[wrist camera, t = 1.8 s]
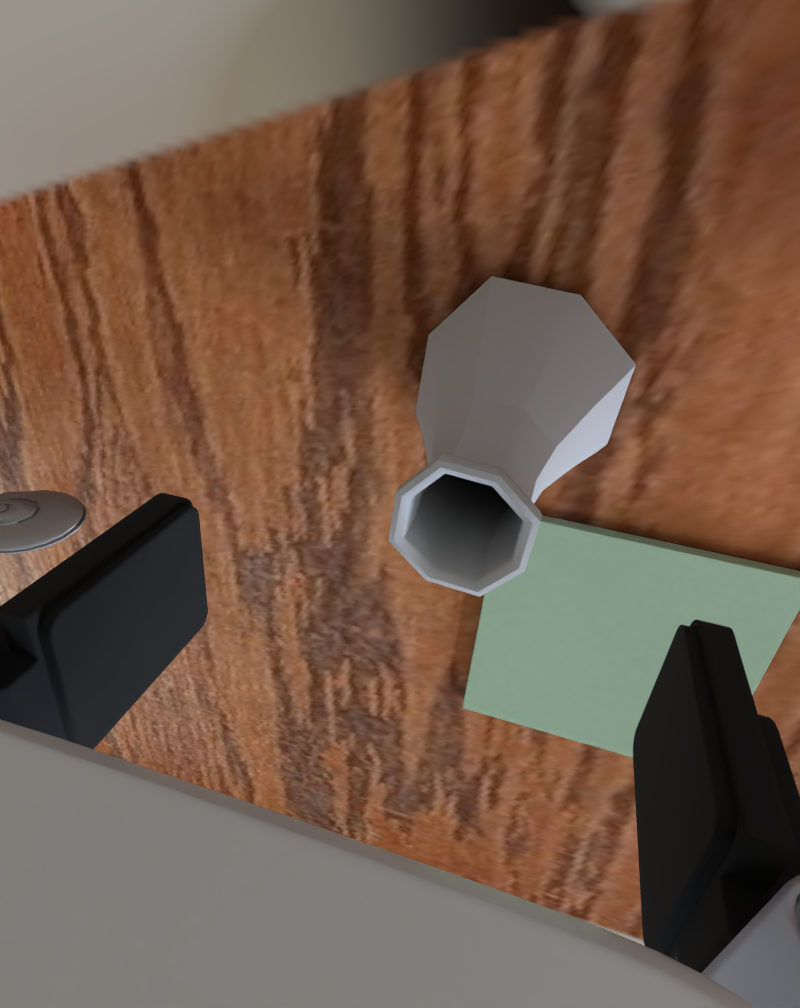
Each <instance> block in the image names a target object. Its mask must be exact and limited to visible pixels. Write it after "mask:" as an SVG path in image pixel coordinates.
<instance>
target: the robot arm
mask: <svg viewBox="0 0 800 1008" xmlns="http://www.w3.org/2000/svg"><path fill="white" fill-rule="evenodd" d="M207 613H208V607H207V597H206V586H205V575H204V565H203V554H202V543H201V533H200V522H199V514H198V511H197V509H196V508H194V507H193V505H192V503H191V501H190V500H188V499H186V498H182V497H178V496H174V495H169V494H165V493H160V494H158V495H156V496H155V497H153V498H152V499H150V500H149V501H148V502H146V503H145V504H143V505H142V506H141V507H139V508H138V509H136V510H135V511H134V512H132V513H131V514H129V515H128V516H126V517H125V518H124V519H122V520H121V521H119V522H118V523H117V524H115V525H114V526H112V527H111V528H110V529H108V530H107V531H105V532H104V533H103V534H101V535H100V536H98V537H97V538H96V539H94V540H93V541H91V542H90V543H89V544H87V545H86V546H84V547H83V548H82V549H80V550H79V551H77V552H76V553H75V554H73V555H72V556H70V557H69V558H68V559H66V560H65V561H63V562H62V563H61V564H59V565H58V566H56V567H55V568H53V569H52V570H51V571H49V572H48V573H46V574H45V575H44V576H42V577H41V578H39V579H38V580H37V581H35V582H34V583H32V584H31V585H30V586H28V587H27V588H25V589H24V590H23V591H21V592H20V593H18V594H17V595H16V596H14V597H13V598H11V599H10V600H9V601H7V602H6V603H4V604H3V605H2V606H0V1008H800V797H799V793H798V790H797V787H796V784H795V781H794V778H793V775H792V772H791V768H790V765H789V762H788V759H787V756H786V753H785V750H784V747H783V744H782V740H781V737H780V734H779V731H778V729H777V727H776V724H775V722H774V721H773V720H772V719H770V718H769V717H765V716H761V715H758V714H757V710H756V707H755V703H754V700H753V697H752V693H751V690H750V686H749V683H748V679H747V676H746V673H745V669H744V666H743V662H742V659H741V655H740V652H739V649H738V645H737V642H736V638H735V635H734V632H733V630H732V629H731V628H730V627H726V626H722V625H718V624H714V623H710V622H705V621H701V620H697V619H696V620H694V621H693V622H692V623H691V625H690V626H686V625H680V626H679V627H678V629H677V631H676V633H675V636H674V638H673V640H672V643H671V645H670V648H669V650H668V653H667V655H666V658H665V660H664V662H663V665H662V667H661V670H660V672H659V675H658V677H657V679H656V682H655V684H654V687H653V689H652V692H651V694H650V697H649V699H648V701H647V704H646V706H645V709H644V711H643V714H642V716H641V719H640V721H639V723H638V726H637V728H636V731H635V735H634V741H633V763H634V781H635V799H636V817H637V835H638V853H639V872H640V890H641V908H642V926H643V939H644V944H645V946H643V945H641V944H638V943H636V942H634V941H631V940H629V939H627V938H624V937H622V936H619V935H617V934H615V933H612V932H610V931H608V930H605V929H603V928H600V927H597V926H595V925H592V924H589V923H587V922H584V921H581V920H578V919H576V918H573V917H570V916H568V915H565V914H562V913H560V912H557V911H554V910H551V909H549V908H546V907H543V906H541V905H538V904H535V903H533V902H530V901H527V900H524V899H522V898H519V897H516V896H514V895H511V894H508V893H506V892H503V891H500V890H497V889H495V888H492V887H489V886H486V885H483V884H480V883H477V882H475V881H472V880H469V879H466V878H463V877H460V876H458V875H455V874H452V873H449V872H446V871H443V870H441V869H438V868H435V867H432V866H429V865H426V864H423V863H421V862H418V861H415V860H412V859H409V858H406V857H404V856H401V855H398V854H395V853H392V852H389V851H387V850H384V849H381V848H378V847H375V846H372V845H369V844H367V843H364V842H361V841H358V840H355V839H352V838H350V837H347V836H344V835H341V834H338V833H335V832H332V831H329V830H326V829H324V828H321V827H318V826H315V825H312V824H309V823H306V822H303V821H301V820H298V819H295V818H292V817H289V816H286V815H283V814H280V813H277V812H275V811H272V810H269V809H266V808H263V807H260V806H257V805H254V804H251V803H249V802H246V801H243V800H240V799H237V798H234V797H231V796H228V795H225V794H222V793H219V792H217V791H214V790H211V789H208V788H205V787H202V786H199V785H196V784H193V783H190V782H188V781H185V780H182V779H179V778H176V777H173V776H170V775H167V774H164V773H161V772H158V771H155V770H152V769H149V768H146V767H143V766H140V765H137V764H134V763H132V762H129V761H126V760H123V759H120V758H117V757H114V756H111V755H108V754H105V753H102V752H99V751H96V750H93V749H94V748H95V747H96V746H97V745H98V744H99V742H100V741H101V740H102V739H103V738H104V737H105V736H106V735H107V733H108V732H109V731H110V730H111V729H112V728H113V727H114V726H115V724H116V723H117V722H118V721H119V720H120V719H121V718H122V717H123V715H124V714H125V713H126V712H127V711H128V710H129V709H130V708H131V706H132V705H133V704H134V703H135V702H136V701H137V700H138V699H139V697H140V696H141V695H142V694H143V693H144V692H145V691H146V690H147V689H148V687H149V686H150V685H151V684H152V683H153V682H154V681H155V680H156V678H157V677H158V676H159V675H160V674H161V673H162V672H163V671H164V669H165V668H166V667H167V666H168V665H169V664H170V663H171V662H172V660H173V659H174V658H175V657H176V656H177V655H178V654H179V653H180V651H181V650H182V649H183V648H184V647H185V646H186V645H187V644H188V642H189V641H190V640H191V639H192V638H193V637H194V636H195V635H196V633H197V632H198V631H199V630H200V629H201V628H202V626H203V625H204V623H205V621H206V618H207Z"/></svg>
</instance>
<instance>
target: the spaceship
mask: <svg viewBox="0 0 800 1008" xmlns="http://www.w3.org/2000/svg"><path fill="white" fill-rule="evenodd" d="M85 519H86V508H85V507H84V505H83V504H82V503H81V502H80V501H79V500H78V499H77V498H75V497H73V496H71V495H69V494H66V493H61V492H56V491H48V490H40V491H30V492H6V493H2V494H0V553H2V554H14V553H23V552H30V551H34V550H38V549H42V548H46V547H49V546H51V545H54V544H56V543H58V542H60V541H63V540H65V539H66V538H68V537H69V536H71V535H72V534H73V533H75V532H76V531H78V529H79V528H80V527H81V526H82V524H83V523H84V521H85Z"/></svg>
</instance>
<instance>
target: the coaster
mask: <svg viewBox="0 0 800 1008" xmlns="http://www.w3.org/2000/svg"><path fill="white" fill-rule="evenodd" d="M799 609H800V571H798V570H793V569H789V568H784V567H779V566H775V565H770V564H766V563H761V562H756V561H752V560H747V559H743V558H738V557H733V556H729V555H724V554H719V553H715V552H710V551H706V550H701V549H696V548H692V547H687V546H682V545H678V544H673V543H669V542H664V541H659V540H655V539H650V538H646V537H641V536H636V535H632V534H627V533H622V532H618V531H613V530H609V529H604V528H599V527H595V526H590V525H585V524H581V523H576V522H572V521H567V520H562V519H558V518H553V517H549V516H544V515H542V519H541V522H540V525H539V528H538V532H537V535H536V538H535V541H534V544H533V547H532V550H531V553H530V556H529V559H528V563H527V566H526V569H525V571H524V572H522V573H521V574H519V575H517V576H515V577H514V578H512V579H510V580H508V581H507V582H505V583H503V584H501V585H500V586H498V587H496V588H494V589H493V590H491V591H489V592H487V593H486V594H484V598H483V603H482V608H481V613H480V618H479V623H478V629H477V634H476V639H475V644H474V649H473V654H472V660H471V665H470V670H469V675H468V680H467V685H466V691H465V696H464V701H463V706H462V707H463V708H465V709H468V710H472V711H475V712H478V713H482V714H485V715H489V716H492V717H496V718H499V719H503V720H506V721H509V722H513V723H516V724H520V725H523V726H527V727H530V728H533V729H537V730H540V731H544V732H547V733H551V734H554V735H557V736H561V737H564V738H568V739H571V740H575V741H578V742H582V743H585V744H588V745H592V746H595V747H599V748H602V749H606V750H609V751H612V752H616V753H619V754H623V755H626V756H630V757H633V741H634V735H635V731H636V728H637V726H638V723H639V721H640V719H641V716H642V714H643V711H644V709H645V706H646V704H647V701H648V699H649V697H650V694H651V692H652V689H653V687H654V684H655V682H656V679H657V677H658V675H659V672H660V670H661V667H662V665H663V662H664V660H665V658H666V655H667V653H668V650H669V648H670V645H671V643H672V640H673V638H674V636H675V633H676V631H677V629H678V627H679V626H680V625H686V626H690V625H691V623H692V622H693V621H694V620H696V619H697V620H701V621H705V622H710V623H714V624H718V625H722V626H726V627H730V628H731V629H732V630H733V632H734V635H735V638H736V642H737V645H738V649H739V652H740V655H741V659H742V662H743V666H744V669H745V673H746V676H747V679H748V683H749V686H750V690H751V693H752V695H753V693H754V691H755V690H756V688H757V686H758V684H759V682H760V680H761V679H762V677H763V675H764V673H765V671H766V669H767V668H768V666H769V664H770V662H771V660H772V658H773V657H774V655H775V653H776V651H777V649H778V647H779V646H780V644H781V642H782V640H783V638H784V636H785V635H786V633H787V631H788V629H789V627H790V625H791V624H792V622H793V620H794V618H795V616H796V614H797V613H798V611H799Z"/></svg>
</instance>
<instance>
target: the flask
mask: <svg viewBox="0 0 800 1008" xmlns="http://www.w3.org/2000/svg"><path fill="white" fill-rule="evenodd" d="M635 366H636V364H635V363H634V362H633V360H632V359H631V358H630V356H629V355H628V354H627V353H626V351H625V350H624V349H623V348H622V346H621V345H620V344H619V343H618V341H617V340H616V339H615V338H614V336H613V335H612V334H611V333H610V331H609V330H608V329H607V327H606V326H605V325H604V324H603V322H602V321H601V320H600V319H599V317H598V316H597V315H596V314H595V312H594V311H593V310H592V309H591V307H590V306H589V305H588V303H587V302H586V301H585V300H584V298H583V297H582V296H581V295H578V294H574V293H569V292H564V291H560V290H555V289H550V288H545V287H541V286H536V285H531V284H526V283H522V282H517V281H512V280H507V279H503V278H498V277H493V276H491V277H490V278H489V279H488V280H487V281H486V282H485V283H484V284H483V285H482V286H481V287H480V288H478V289H477V290H476V291H475V292H474V293H473V294H472V295H471V296H470V297H469V298H468V299H467V300H466V301H464V302H463V303H462V304H461V305H460V306H459V307H458V308H457V309H456V310H455V311H454V312H453V313H451V314H450V315H449V316H448V317H447V318H446V319H445V320H444V321H443V322H442V323H441V324H440V325H439V326H437V327H436V328H435V329H434V330H433V331H432V332H431V333H430V334H429V335H428V341H427V347H426V353H425V359H424V364H423V370H422V376H421V382H420V388H419V394H418V400H417V405H416V416H417V420H418V423H419V426H420V429H421V432H422V435H423V439H424V444H425V449H426V454H427V459H428V465H427V466H426V467H425V468H423V469H422V470H421V471H420V472H418V473H417V474H416V475H414V476H413V477H412V478H410V479H409V480H408V481H407V482H405V483H404V484H403V485H401V486H400V487H399V488H398V490H397V492H396V497H395V503H394V509H393V515H392V521H391V527H390V533H389V539H388V541H389V542H390V543H391V544H392V545H393V546H394V547H395V548H396V549H397V550H398V551H399V552H400V553H401V555H402V556H403V557H404V558H405V559H406V560H407V561H408V562H409V563H410V564H411V565H412V566H413V567H414V568H415V569H416V570H417V571H418V572H419V573H420V575H421V576H422V577H423V578H424V579H425V580H427V581H430V582H433V583H437V584H440V585H443V586H446V587H450V588H453V589H456V590H459V591H463V592H466V593H469V594H472V595H476V596H479V597H480V596H482V595H484V594H486V593H487V592H489V591H491V590H493V589H494V588H496V587H498V586H500V585H501V584H503V583H505V582H507V581H508V580H510V579H512V578H514V577H515V576H517V575H519V574H521V573H522V572H524V571H525V569H526V566H527V563H528V559H529V556H530V553H531V550H532V547H533V544H534V541H535V538H536V535H537V532H538V528H539V525H540V522H541V519H542V514H541V511H540V510H539V509H538V508H537V507H536V506H535V504H534V503H535V501H536V500H537V498H538V497H539V495H540V494H541V492H542V491H543V490H544V489H545V488H547V487H548V486H549V485H551V484H552V483H553V482H554V481H556V480H557V479H558V478H560V477H561V476H562V475H563V474H565V473H566V472H567V471H569V470H570V469H571V468H573V467H574V466H576V465H577V464H579V463H580V462H582V461H583V460H585V459H586V458H588V457H590V456H591V455H593V454H594V453H596V452H597V451H599V450H600V449H601V448H603V447H604V446H605V445H607V443H608V440H609V438H610V435H611V432H612V429H613V427H614V424H615V421H616V418H617V416H618V413H619V410H620V407H621V404H622V402H623V399H624V396H625V393H626V391H627V388H628V385H629V382H630V380H631V377H632V374H633V371H634V369H635Z"/></svg>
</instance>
